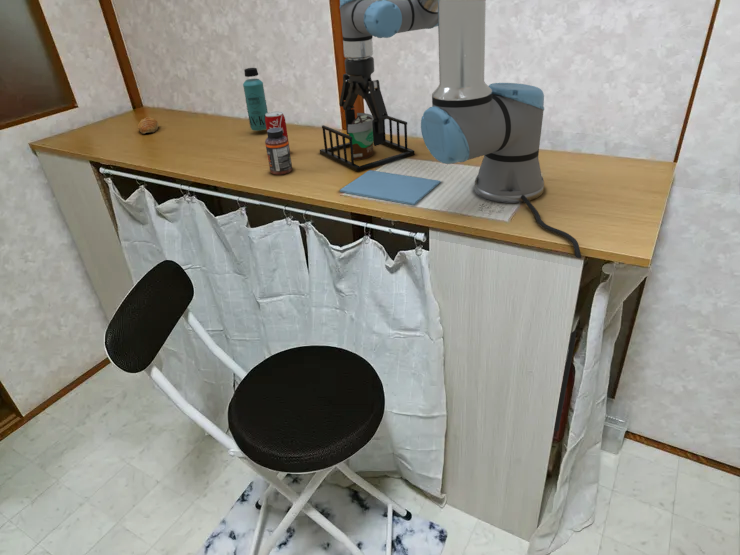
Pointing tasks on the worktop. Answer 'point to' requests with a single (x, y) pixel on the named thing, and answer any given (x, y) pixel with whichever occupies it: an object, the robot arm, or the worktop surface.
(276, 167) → the supplement bottle
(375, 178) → the drying mat
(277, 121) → the soda can
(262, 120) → the beverage bottle
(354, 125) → the food container
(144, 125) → the pastry
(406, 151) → the dish rack
